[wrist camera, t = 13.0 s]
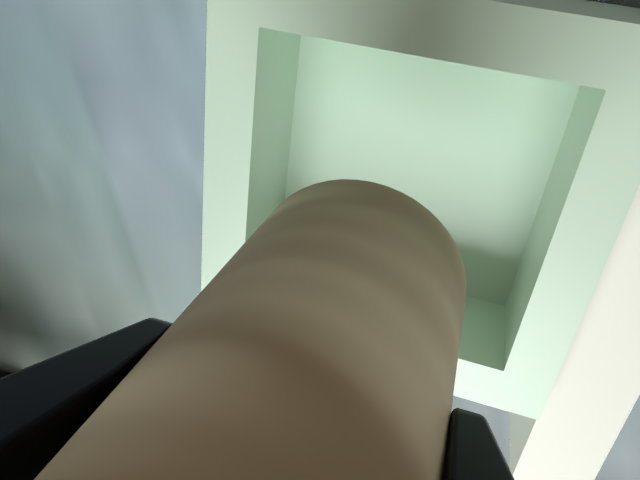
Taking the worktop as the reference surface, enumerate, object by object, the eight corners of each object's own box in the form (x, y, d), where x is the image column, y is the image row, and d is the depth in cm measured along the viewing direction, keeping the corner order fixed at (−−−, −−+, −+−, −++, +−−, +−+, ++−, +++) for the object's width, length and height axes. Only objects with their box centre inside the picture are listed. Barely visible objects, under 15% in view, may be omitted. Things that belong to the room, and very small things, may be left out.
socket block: (254, 255, 20) (200, 320, 16) (276, -48, 15) (208, -44, 12) (533, 329, 18) (538, 420, 15) (655, 11, 13) (703, 34, 10)
